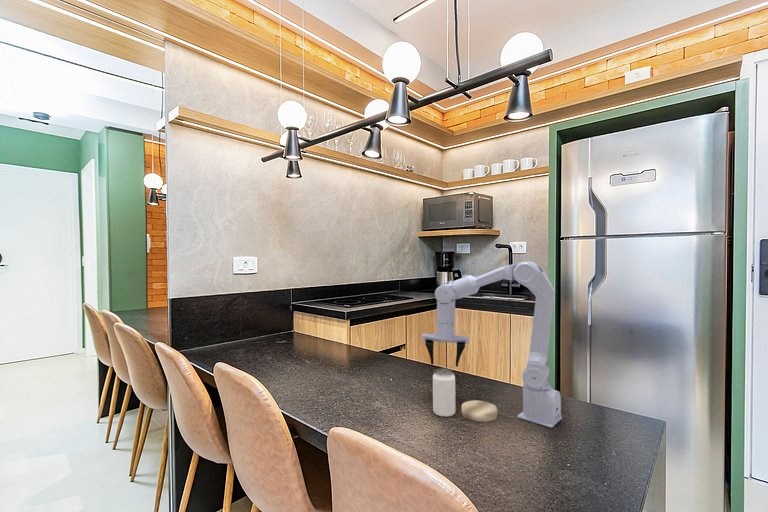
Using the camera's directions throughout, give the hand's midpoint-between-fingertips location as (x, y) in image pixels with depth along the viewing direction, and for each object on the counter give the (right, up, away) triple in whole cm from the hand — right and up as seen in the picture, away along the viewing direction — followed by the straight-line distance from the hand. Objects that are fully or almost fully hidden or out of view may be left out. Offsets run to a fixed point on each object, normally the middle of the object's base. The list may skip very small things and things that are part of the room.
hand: (444, 364), depth 116 cm
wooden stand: (+8, -11, -11) cm, 17 cm away
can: (-2, -12, -9) cm, 15 cm away
